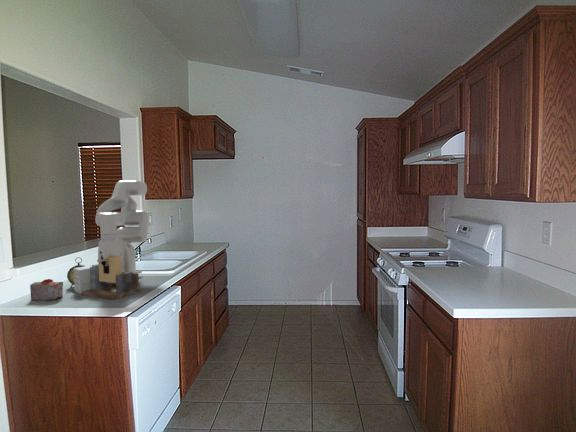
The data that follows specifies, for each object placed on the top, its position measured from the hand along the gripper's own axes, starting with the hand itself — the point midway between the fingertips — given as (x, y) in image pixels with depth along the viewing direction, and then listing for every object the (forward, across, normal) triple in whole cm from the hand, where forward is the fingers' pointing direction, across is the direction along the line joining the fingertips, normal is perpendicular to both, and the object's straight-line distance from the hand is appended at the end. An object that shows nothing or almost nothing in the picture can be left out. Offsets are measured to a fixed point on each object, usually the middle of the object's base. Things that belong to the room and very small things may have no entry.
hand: (110, 272), depth 189 cm
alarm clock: (+11, -3, -28) cm, 30 cm away
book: (+5, 0, 0) cm, 5 cm away
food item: (+11, +20, -21) cm, 31 cm away
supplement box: (+11, +3, -16) cm, 20 cm away
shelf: (+11, 0, 0) cm, 11 cm away
